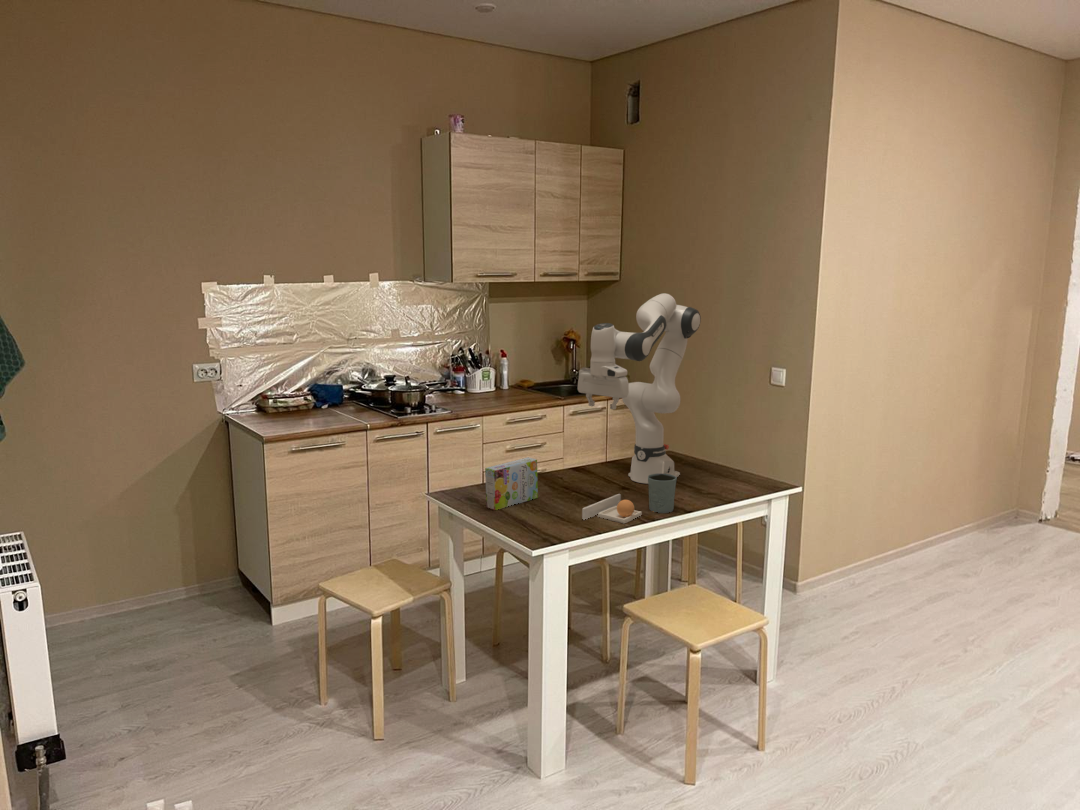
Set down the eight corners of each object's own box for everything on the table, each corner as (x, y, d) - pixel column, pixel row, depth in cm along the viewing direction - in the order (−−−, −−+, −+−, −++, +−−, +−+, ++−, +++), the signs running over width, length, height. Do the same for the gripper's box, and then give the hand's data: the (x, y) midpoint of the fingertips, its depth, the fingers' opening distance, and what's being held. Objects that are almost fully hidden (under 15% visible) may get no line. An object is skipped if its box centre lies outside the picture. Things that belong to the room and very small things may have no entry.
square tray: (615, 509, 287) (615, 505, 287) (641, 515, 280) (641, 511, 280) (597, 517, 279) (597, 513, 279) (624, 523, 272) (624, 519, 272)
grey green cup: (650, 514, 282) (651, 481, 280) (644, 505, 292) (645, 473, 290) (678, 513, 283) (679, 480, 281) (671, 504, 293) (672, 472, 291)
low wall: (618, 504, 293) (618, 493, 292) (620, 504, 292) (620, 494, 292) (582, 519, 276) (582, 508, 276) (584, 520, 276) (584, 509, 275)
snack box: (528, 495, 304) (527, 456, 302) (538, 498, 300) (538, 459, 298) (485, 507, 290) (484, 467, 287) (495, 511, 286) (495, 470, 283)
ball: (610, 507, 278) (620, 498, 274) (620, 503, 283) (630, 494, 279) (620, 522, 276) (631, 513, 273) (630, 517, 281) (640, 508, 277)
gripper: (574, 367, 292) (573, 405, 294) (621, 373, 279) (620, 412, 281) (584, 365, 296) (584, 402, 299) (631, 370, 284) (630, 409, 286)
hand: (602, 407), depth 290 cm, fingers open, 8 cm apart
